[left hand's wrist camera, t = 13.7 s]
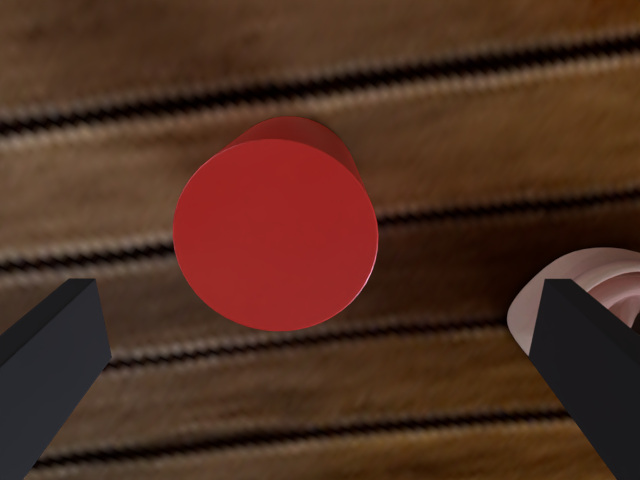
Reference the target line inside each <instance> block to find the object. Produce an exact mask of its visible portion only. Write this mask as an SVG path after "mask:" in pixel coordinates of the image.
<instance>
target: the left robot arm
mask: <svg viewBox="0 0 640 480" xmlns="http://www.w3.org/2000/svg"><path fill="white" fill-rule="evenodd" d="M111 358H112V356H111V351H110V346H109V342H108V337H107V332H106V327H105V323H104V318H103V313H102V308H101V304H100V299H99V294H98V289H97V285H96V280H95V279H68V280H67V281H66V282H64V283H63V284H62V285H61V286H60V287H58V288H57V289H56V290H55V291H54V292H52V293H51V294H50V295H49V296H48V297H46V298H45V299H44V300H43V301H41V302H40V303H39V304H38V305H37V306H35V307H34V308H33V309H32V310H31V311H29V312H28V313H27V314H26V315H25V316H23V317H22V318H21V319H20V320H19V321H17V322H16V323H15V324H14V325H13V326H11V327H10V328H9V329H8V330H6V331H5V332H4V333H3V334H2V335H0V480H23V479H24V477H25V476H26V475H27V473H28V472H29V471H30V469H31V468H32V466H33V465H34V464H35V462H36V461H37V460H38V458H39V457H40V455H41V454H42V453H43V451H44V450H45V449H46V447H47V446H48V444H49V443H50V442H51V440H52V439H53V438H54V436H55V435H56V433H57V432H58V431H59V429H60V428H61V427H62V425H63V424H64V422H65V421H66V420H67V418H68V417H69V416H70V414H71V413H72V411H73V410H74V409H75V407H76V406H77V404H78V403H79V402H80V400H81V399H82V398H83V396H84V395H85V393H86V392H87V391H88V389H89V388H90V387H91V385H92V384H93V382H94V381H95V380H96V378H97V377H98V376H99V374H100V373H101V371H102V370H103V369H104V367H105V366H106V365H107V363H108V362H109V360H110V359H111ZM528 358H529V359H530V360H531V362H532V363H533V365H534V366H535V367H536V369H537V370H538V371H539V373H540V374H541V376H542V377H543V378H544V380H545V381H546V382H547V384H548V385H549V387H550V388H551V389H552V391H553V392H554V393H555V395H556V396H557V398H558V399H559V400H560V402H561V403H562V404H563V406H564V407H565V409H566V410H567V411H568V413H569V414H570V416H571V417H572V418H573V420H574V421H575V422H576V424H577V425H578V427H579V428H580V429H581V431H582V432H583V433H584V435H585V436H586V438H587V439H588V440H589V442H590V443H591V444H592V446H593V447H594V449H595V450H596V451H597V453H598V454H599V455H600V457H601V458H602V460H603V461H604V462H605V464H606V465H607V466H608V468H609V469H610V471H611V472H612V473H613V475H614V476H615V477H616V479H617V480H640V335H638V334H637V333H636V332H635V331H634V330H632V329H631V328H630V327H629V326H627V325H626V324H625V323H624V322H623V321H621V320H620V319H619V318H618V317H617V316H615V315H614V314H613V313H612V312H611V311H609V310H608V309H607V308H606V307H605V306H603V305H602V304H601V303H600V302H599V301H597V300H596V299H595V298H594V297H592V296H591V295H590V294H589V293H588V292H586V291H585V290H584V289H583V288H582V287H580V286H579V285H578V284H577V283H576V282H574V281H573V280H572V279H545V280H544V285H543V289H542V294H541V299H540V304H539V308H538V313H537V318H536V323H535V327H534V332H533V337H532V342H531V346H530V351H529V356H528Z"/></svg>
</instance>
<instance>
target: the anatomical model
mask: <svg viewBox="0 0 640 480" xmlns="http://www.w3.org/2000/svg"><path fill="white" fill-rule="evenodd" d="M545 279H572V280H573V281H574V282H576V283H577V284H578V285H579V286H580V287H582V288H583V289H584V290H585V291H586V292H588V293H589V294H590V295H591V296H592V297H594V298H595V299H596V300H597V301H599V302H600V303H601V304H602V305H603V306H605V307H606V308H607V309H608V310H609V311H611V312H612V313H613V314H614V315H615V316H617V317H618V318H619V319H620V320H621V321H623V322H624V323H625V324H626V325H627V326H629V327H630V328H631V329H632V330H634V331H635V332H636V333H637V334H638V335H640V253H638V252H634V251H630V250H626V249H618V248H590V249H583V250H579V251H575V252H572V253H569V254H566V255H564V256H562V257H560V258H558V259H557V260H555V261H554V262H552V263H551V264H549V265H548V266H547V267H545V268H544V269H543V270H542V271H540V272H539V273H538V274H537V275H536V276H535V277H534V278H533V279H532V280H531V281H530V282H529V283H528V284H527V285H526V286H525V287H524V288H523V289H522V290H521V291H520V293H519V294H518V295H517V296H516V298H515V299H514V301H513V302H512V304H511V306H510V308H509V310H508V315H507V323H508V327H509V329H510V332H511V333H512V335H513V337H514V338H515V340H516V341H517V343H518V344H519V345H520V347H521V348H522V349H523V350H524V352H525V353H526V354H527V355H528V356H529V351H530V346H531V342H532V337H533V332H534V327H535V323H536V318H537V313H538V308H539V304H540V299H541V294H542V289H543V285H544V280H545Z"/></svg>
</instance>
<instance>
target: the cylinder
mask: <svg viewBox="0 0 640 480" xmlns="http://www.w3.org/2000/svg"><path fill="white" fill-rule="evenodd" d="M173 242H174V250H175V253H176V257H177V260H178V263H179V266H180V268H181V270H182V273H183V275H184V276H185V278H186V280H187V282H188V283H189V285H190V286H191V287H192V289H193V290H194V291H195V293H196V294H197V295H198V296H199V297H200V298H201V299H202V300H203V301H204V302H205V303H206V304H207V305H208V306H210V307H211V308H212V309H213V310H215V311H216V312H218V313H219V314H221V315H223V316H224V317H226V318H228V319H230V320H232V321H234V322H236V323H239V324H242V325H245V326H248V327H251V328H256V329H260V330H269V331H289V330H298V329H302V328H306V327H310V326H313V325H316V324H318V323H321V322H323V321H325V320H327V319H329V318H331V317H333V316H334V315H336V314H337V313H339V312H340V311H342V310H343V309H344V308H345V307H346V306H348V305H349V304H350V303H351V302H352V301H353V300H354V299H355V297H356V296H357V295H358V294H359V293H360V291H361V290H362V289H363V287H364V286H365V284H366V282H367V280H368V278H369V276H370V274H371V272H372V270H373V267H374V264H375V261H376V255H377V250H378V226H377V220H376V216H375V212H374V209H373V206H372V204H371V201H370V198H369V196H368V194H367V191H366V189H365V187H364V184H363V182H362V180H361V177H360V175H359V172H358V170H357V168H356V165H355V163H354V161H353V158H352V156H351V154H350V152H349V150H348V149H347V147H346V146H345V144H344V143H343V142H342V140H341V139H340V138H339V137H338V136H337V135H336V134H335V133H333V132H332V131H331V130H329V129H328V128H327V127H325V126H323V125H322V124H320V123H317V122H315V121H313V120H310V119H306V118H302V117H295V116H282V117H275V118H271V119H268V120H265V121H262V122H260V123H258V124H256V125H254V126H253V127H251V128H250V129H248V130H247V131H246V132H244V133H243V134H242V135H240V136H239V137H238V138H236V139H235V140H234V141H232V142H231V143H230V144H228V145H227V146H226V147H224V148H223V149H222V150H220V151H219V152H218V153H216V154H215V155H214V156H212V157H211V158H210V159H209V160H207V161H206V162H205V163H204V164H203V165H201V166H200V167H199V169H198V170H197V171H196V172H195V173H194V174H193V175H192V176H191V178H190V179H189V181H188V182H187V184H186V185H185V187H184V189H183V191H182V193H181V195H180V197H179V200H178V203H177V206H176V209H175V214H174V220H173Z"/></svg>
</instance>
